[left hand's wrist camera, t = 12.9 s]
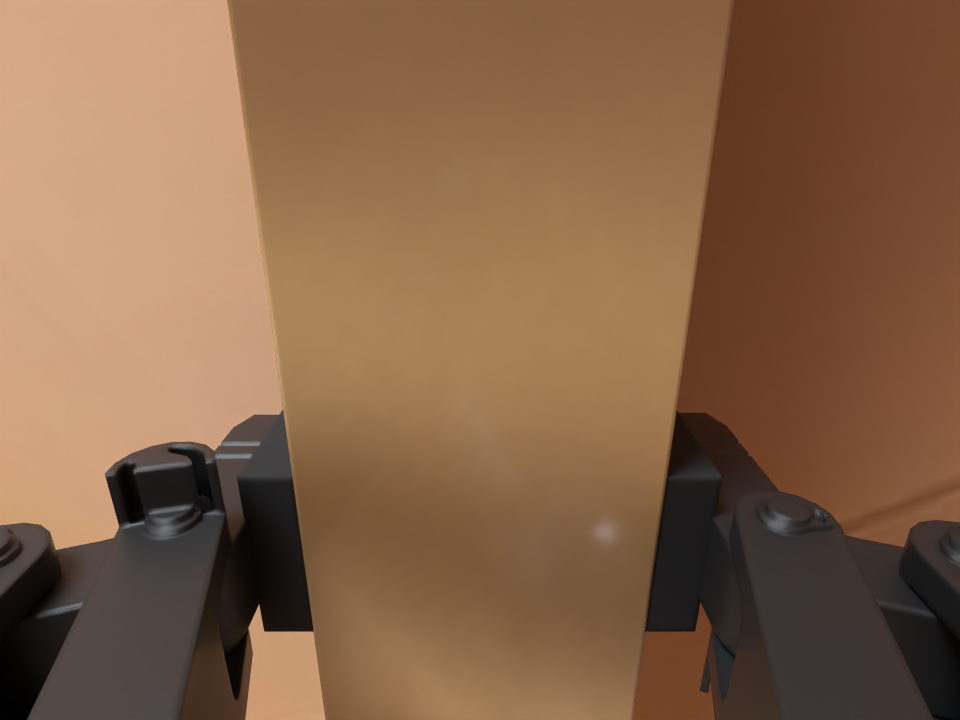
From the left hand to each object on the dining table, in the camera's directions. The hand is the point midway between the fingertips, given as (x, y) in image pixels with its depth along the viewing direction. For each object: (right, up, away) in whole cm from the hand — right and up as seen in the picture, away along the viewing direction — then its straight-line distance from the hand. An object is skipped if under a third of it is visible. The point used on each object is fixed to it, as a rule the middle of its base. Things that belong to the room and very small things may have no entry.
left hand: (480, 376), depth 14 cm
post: (0, +19, -7) cm, 20 cm away
